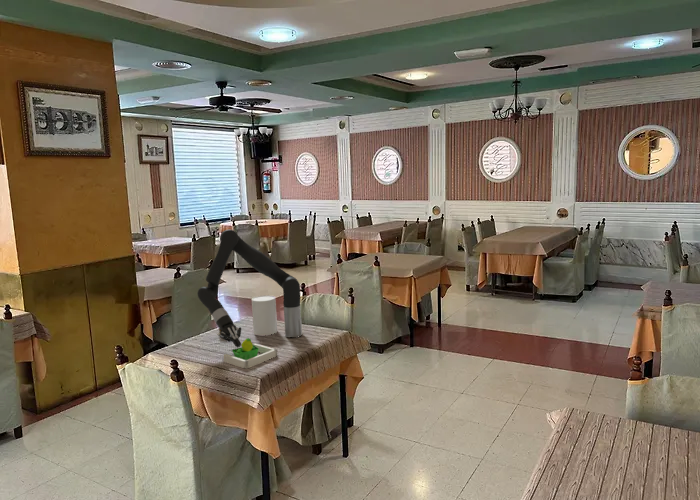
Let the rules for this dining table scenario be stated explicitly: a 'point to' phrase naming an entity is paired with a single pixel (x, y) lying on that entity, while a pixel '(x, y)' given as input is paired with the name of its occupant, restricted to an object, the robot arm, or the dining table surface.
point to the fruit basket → (246, 350)
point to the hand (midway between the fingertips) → (239, 346)
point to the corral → (245, 364)
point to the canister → (264, 315)
